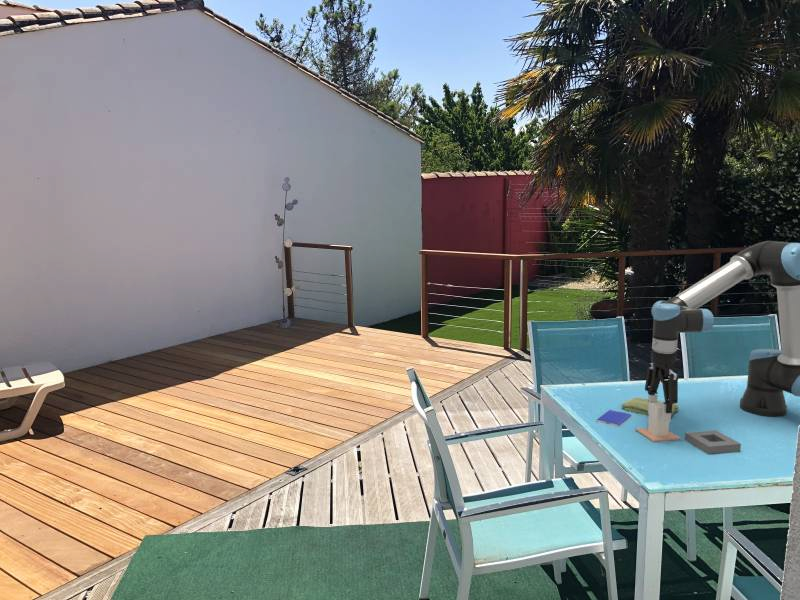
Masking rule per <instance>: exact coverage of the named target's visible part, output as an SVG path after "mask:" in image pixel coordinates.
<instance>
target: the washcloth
mask: <svg viewBox="0 0 800 600" xmlns="http://www.w3.org/2000/svg"><path fill="white" fill-rule="evenodd" d="M648 400H649V398H642V397H632V398H631V399H627V400H626V401H625V402H623V403H621V405H620V406H621V407H622V408H623V409H624V411H625V410H626V411H625V412H629V411H631V412H630V413H634V412H635V414H639V413H640V415H644V414H645V415H646V416H649V414H648V405H649V402H648ZM658 402H662V403H663V402H664V401H661V400H657V403H658ZM678 411H679V406H678V405H677V403H674V404H673V405H672V413H671V417H673V415H674V414H675V413H677V412H678ZM673 413H674V414H673Z"/></svg>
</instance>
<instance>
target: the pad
mask: <svg viewBox="0 0 800 600" xmlns="http://www.w3.org/2000/svg"><path fill="white" fill-rule="evenodd" d="M635 431H636V432H637V433H639V434H640V435H641V436H643V437H645V438H646V439H648V440H649V441H650V442H652V443H659V442H671V441H672V442H673V441H680V440H681V437H680V436H678V435H676V434H675V433H673V432H672V431H670V430H668V435H667V436H654V435H653V434H651V433H650V432H648V427H642V428H641V427H640V428H635Z"/></svg>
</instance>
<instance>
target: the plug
mask: <svg viewBox="0 0 800 600" xmlns="http://www.w3.org/2000/svg"><path fill="white" fill-rule="evenodd" d="M662 402H663V401H661V402H658V403H650V407H649V415H648V424H647V428H648V432H650V433H651V434H653V435H654V436H667V435H668V431H669V425H670V422H662V410H663V403H662Z"/></svg>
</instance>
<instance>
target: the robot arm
mask: <svg viewBox="0 0 800 600" xmlns="http://www.w3.org/2000/svg"><path fill="white" fill-rule="evenodd" d="M759 275H768V276H770V284H771V286H773V287H774V288H775V289H776V294H777V297H776V298H777V310H778V319H779V332H780V333H779V334H780V344H781V345H780V347H781V349H776V348H775V349H774V348H758V349H753V350H752V351H751V352H750V355H749V359H748V371H747V381H746V383H747V384H746V387H745V388H746V389H745V390H744V392H743V395H742V397H741V398H740V400H739V408H740V409H742V410H743V411H745V412H748V413H750V414H754V415H759V416H764V417H784V416H786V415H787V413H788V406H787V403H786V399H785V394H784V392H786V393H789V394H791V395H793V396H794V397H800V243H799V242H786V241H775V240H765V241H761V242H758V243H755V244H753V245H751V246H748V247H747V248H745V249H743V250H740V251H739V252H738V253H736V254H734V255H733V256H732V257H730V260H729V262H727V263H726V264H724V265H722V266H721V267H720V268H718V269H716V270H715V271H713V272H712V273H710V274H708V275H707V276H705V277H704V278H702V279H700V280H698V282H695V283H694V284H692V285H691V286H689V287H688V288H687V289H685V290H683V291H681V292H680V293H678V294H677V295H675V296H674V297H672V298H670V299H668V300H658V301H656V302H655V303H653V305H652V307H651V315H652V317H653V325H652V343H651V345H652V346H651V349H652V350H651V354H650V355H651V357H650V361H651V362H647V365H646V367H647V371H646V379H645V383H644V384H645V385H644V391H645V392H647V395H648V399H649V400H648V402H649V405H648V414H649V407H650V403H657V401H658V399H659V398H658V394H659V392H658V389H659V386H660V383H661V384H662V391H663V398H664V401H662V402H663V410H662V422H669V423H671V421H672V419H671V418H672V416H671V413H672V405H673V404H678V403H679V401H678V400H679V399H678V398H679V397H678V393H679V392H678V391H679V383H678V381H679V378H680V375H679V373H677V372H676V373H675V372H674V369H673V366H674V365H675V364H676V362H677V351H678V340H679V334H680V333H682V334H683V333H702V332H708V331H710V330H712V329H713V326H714V324H715V323H714V322H715V318H714V315H713V313H712V311H711V310H709V309H708V308H700V307H702V306H703V305H705V304H707V303H708V302H710V301H711V300H713V299H715V298H716V297H718V296H719V295H721V294H722V293H725V292H726V291H728V290H729V289H731V288H732V287H734V286H735V285H736V284H738V283H740V282H742V281H744V280H751V279H752V278H754V277H755V276H759Z"/></svg>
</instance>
